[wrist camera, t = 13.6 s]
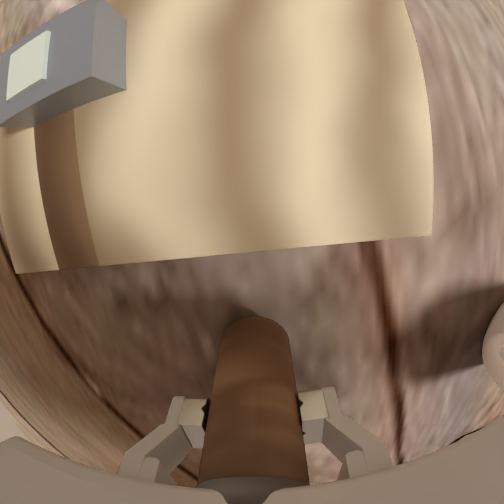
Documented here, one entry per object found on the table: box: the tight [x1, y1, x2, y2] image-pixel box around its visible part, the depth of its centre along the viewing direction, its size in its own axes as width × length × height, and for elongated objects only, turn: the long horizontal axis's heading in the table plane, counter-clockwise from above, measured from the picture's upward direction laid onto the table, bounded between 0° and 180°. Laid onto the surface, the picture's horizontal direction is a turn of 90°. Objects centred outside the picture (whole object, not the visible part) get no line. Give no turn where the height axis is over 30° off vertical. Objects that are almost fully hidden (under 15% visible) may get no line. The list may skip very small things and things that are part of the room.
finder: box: [0, 0, 127, 127], centre depth 8 cm, size 6×4×3 cm, turn 95°
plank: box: [0, 0, 433, 274], centre depth 11 cm, size 24×14×2 cm, turn 96°
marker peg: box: [195, 317, 310, 504], centre depth 10 cm, size 4×4×10 cm
